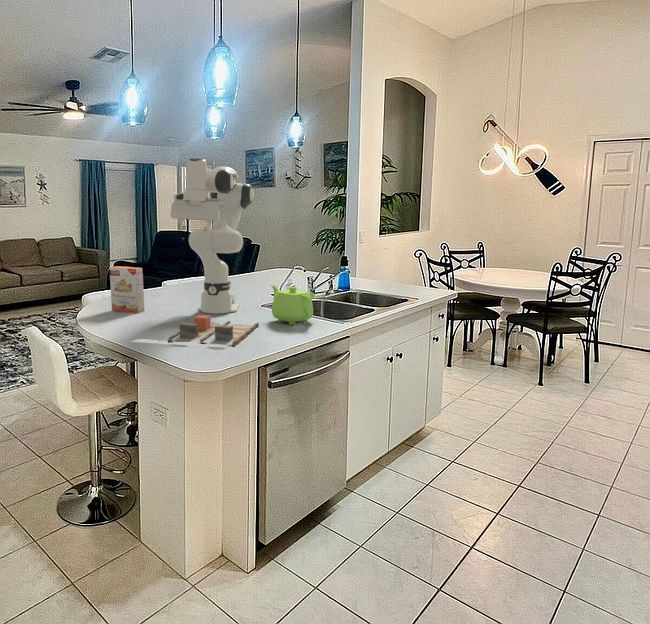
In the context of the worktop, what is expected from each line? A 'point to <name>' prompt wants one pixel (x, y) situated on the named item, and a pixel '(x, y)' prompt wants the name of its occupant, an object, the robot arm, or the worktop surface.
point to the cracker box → (127, 289)
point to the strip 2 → (229, 332)
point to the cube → (202, 322)
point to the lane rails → (224, 325)
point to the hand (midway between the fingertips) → (195, 230)
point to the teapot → (292, 305)
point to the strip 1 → (193, 330)
